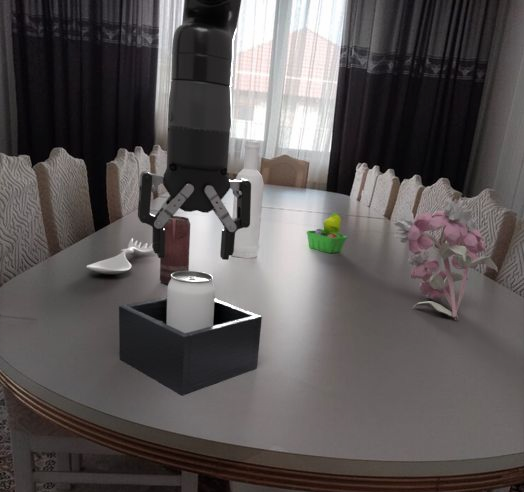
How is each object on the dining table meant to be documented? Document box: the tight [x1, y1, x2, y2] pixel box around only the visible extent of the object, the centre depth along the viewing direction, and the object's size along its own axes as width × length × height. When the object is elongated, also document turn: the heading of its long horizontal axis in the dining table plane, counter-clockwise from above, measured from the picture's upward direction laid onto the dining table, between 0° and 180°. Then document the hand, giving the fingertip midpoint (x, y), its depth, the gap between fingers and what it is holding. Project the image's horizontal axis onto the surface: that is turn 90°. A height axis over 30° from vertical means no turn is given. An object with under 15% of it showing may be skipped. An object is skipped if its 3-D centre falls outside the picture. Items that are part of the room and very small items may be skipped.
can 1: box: [159, 215, 191, 286], centre depth 111 cm, size 6×6×14 cm
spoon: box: [85, 237, 154, 275], centre depth 124 cm, size 9×32×4 cm, turn 173°
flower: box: [392, 196, 499, 323], centre depth 111 cm, size 20×22×25 cm
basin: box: [118, 296, 263, 396], centre depth 73 cm, size 14×14×8 cm
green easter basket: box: [305, 212, 348, 254], centre depth 162 cm, size 11×9×11 cm
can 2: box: [166, 270, 216, 333], centre depth 72 cm, size 6×6×12 cm
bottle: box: [231, 139, 265, 259], centre depth 140 cm, size 8×8×30 cm
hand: (193, 257), depth 69 cm, fingers open, 8 cm apart
